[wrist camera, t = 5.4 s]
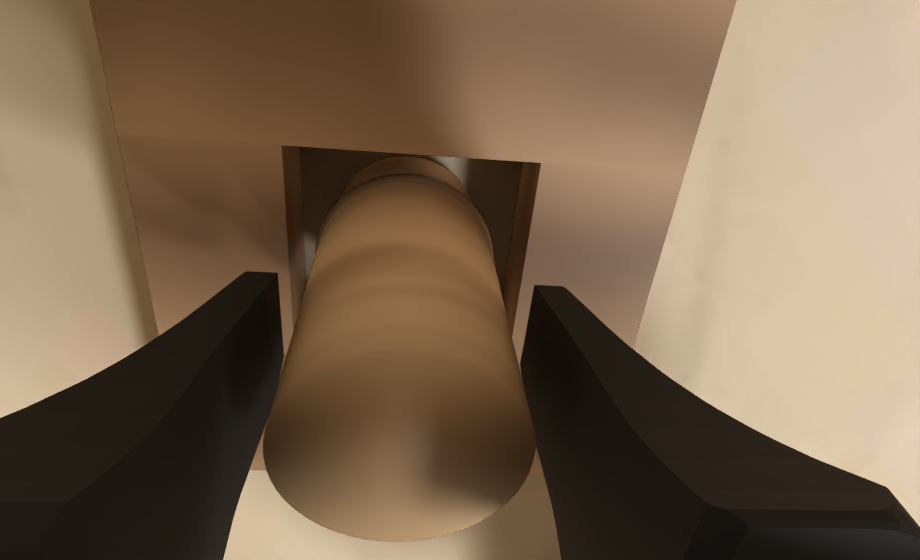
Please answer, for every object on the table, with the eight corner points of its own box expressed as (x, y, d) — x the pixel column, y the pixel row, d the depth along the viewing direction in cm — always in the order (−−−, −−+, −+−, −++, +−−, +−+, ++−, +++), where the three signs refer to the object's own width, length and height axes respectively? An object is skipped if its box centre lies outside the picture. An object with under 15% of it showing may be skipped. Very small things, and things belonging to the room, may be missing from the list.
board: (579, 427, 20) (594, 475, 18) (207, 418, 19) (186, 469, 17) (705, -49, 13) (749, -45, 11) (116, -112, 12) (64, -118, 10)
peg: (474, 291, 17) (517, 543, 10) (328, 285, 16) (268, 543, 10) (492, 152, 15) (561, 351, 8) (325, 140, 14) (247, 340, 8)
